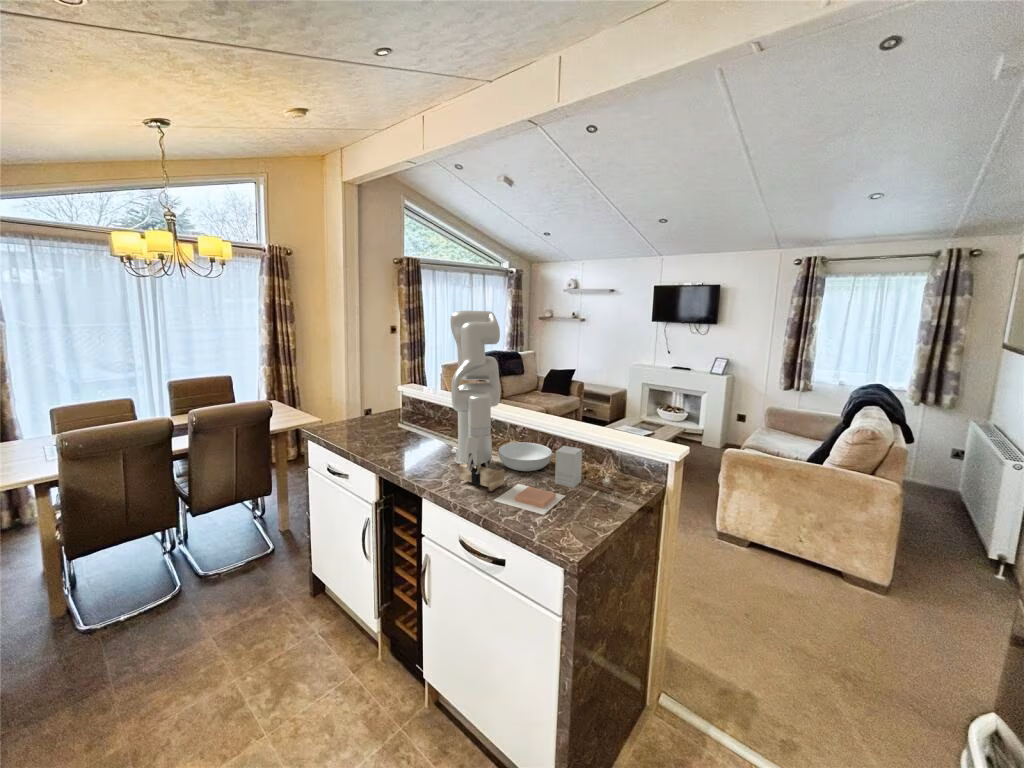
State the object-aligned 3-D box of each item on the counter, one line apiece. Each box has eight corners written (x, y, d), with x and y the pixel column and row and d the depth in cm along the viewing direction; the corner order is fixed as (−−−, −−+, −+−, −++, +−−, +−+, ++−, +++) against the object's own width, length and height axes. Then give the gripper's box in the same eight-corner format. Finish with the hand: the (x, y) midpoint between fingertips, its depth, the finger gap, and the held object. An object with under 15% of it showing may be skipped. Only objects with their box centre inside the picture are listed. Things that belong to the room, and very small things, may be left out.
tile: (515, 496, 139) (543, 503, 134) (528, 486, 147) (555, 493, 142) (515, 500, 140) (543, 508, 135) (528, 491, 147) (555, 498, 142)
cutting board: (493, 502, 140) (493, 500, 140) (518, 485, 153) (518, 483, 153) (543, 516, 131) (543, 514, 131) (565, 497, 144) (565, 495, 144)
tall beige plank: (455, 480, 152) (455, 467, 151) (469, 473, 159) (469, 460, 158) (491, 491, 145) (491, 476, 144) (504, 483, 152) (504, 469, 151)
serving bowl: (505, 479, 159) (505, 461, 158) (492, 460, 179) (493, 443, 177) (559, 474, 164) (560, 457, 163) (541, 456, 184) (541, 440, 183)
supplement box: (581, 482, 157) (583, 448, 155) (573, 489, 151) (575, 454, 148) (562, 478, 161) (563, 445, 158) (554, 485, 154) (555, 450, 152)
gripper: (484, 423, 158) (484, 472, 161) (455, 434, 144) (455, 487, 147) (501, 426, 154) (501, 476, 157) (474, 438, 140) (474, 492, 143)
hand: (479, 481), depth 152 cm, fingers closed on tall beige plank, 3 cm apart
